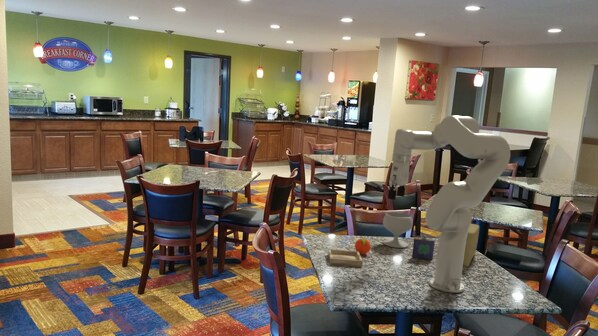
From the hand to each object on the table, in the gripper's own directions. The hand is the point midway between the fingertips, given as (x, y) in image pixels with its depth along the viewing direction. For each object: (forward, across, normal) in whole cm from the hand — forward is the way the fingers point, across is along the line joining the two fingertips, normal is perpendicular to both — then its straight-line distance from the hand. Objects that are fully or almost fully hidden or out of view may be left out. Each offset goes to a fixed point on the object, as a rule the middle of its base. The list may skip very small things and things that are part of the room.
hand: (396, 197), depth 201 cm
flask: (+27, +11, -12) cm, 32 cm away
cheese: (+27, +25, -27) cm, 46 cm away
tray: (+27, -19, +11) cm, 35 cm away
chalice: (+28, +22, +6) cm, 36 cm away
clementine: (+28, -5, +10) cm, 30 cm away
